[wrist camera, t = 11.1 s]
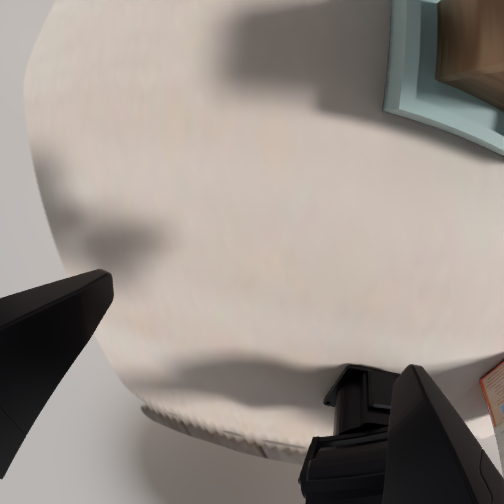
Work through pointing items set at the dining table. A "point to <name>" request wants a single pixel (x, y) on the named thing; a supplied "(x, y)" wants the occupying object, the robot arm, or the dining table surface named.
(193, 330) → the dining table surface
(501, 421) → the cracker box
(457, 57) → the brown tall open box
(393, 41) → the teal square tray
